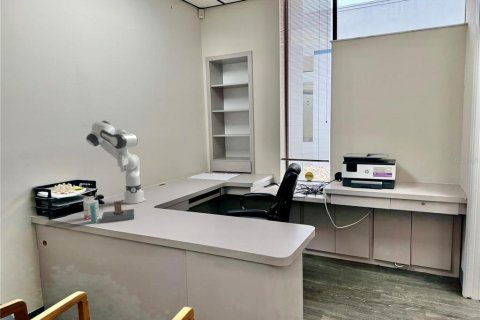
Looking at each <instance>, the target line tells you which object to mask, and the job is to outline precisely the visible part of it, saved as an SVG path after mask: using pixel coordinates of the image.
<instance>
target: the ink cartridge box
mask: <svg viewBox="0 0 480 320" xmlns="http://www.w3.org/2000/svg"><path fill="white" fill-rule="evenodd" d="M91 203H95V205H96V216H99V217H100V208H99V206H100V205H99V200H98V199H97V200H96V199H95V195H92V196H87V197H83V214H84V219H85V218H88V219H89V220H91V219H90V218H91V212H90V205H91ZM88 219H87V220H88Z"/></svg>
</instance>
